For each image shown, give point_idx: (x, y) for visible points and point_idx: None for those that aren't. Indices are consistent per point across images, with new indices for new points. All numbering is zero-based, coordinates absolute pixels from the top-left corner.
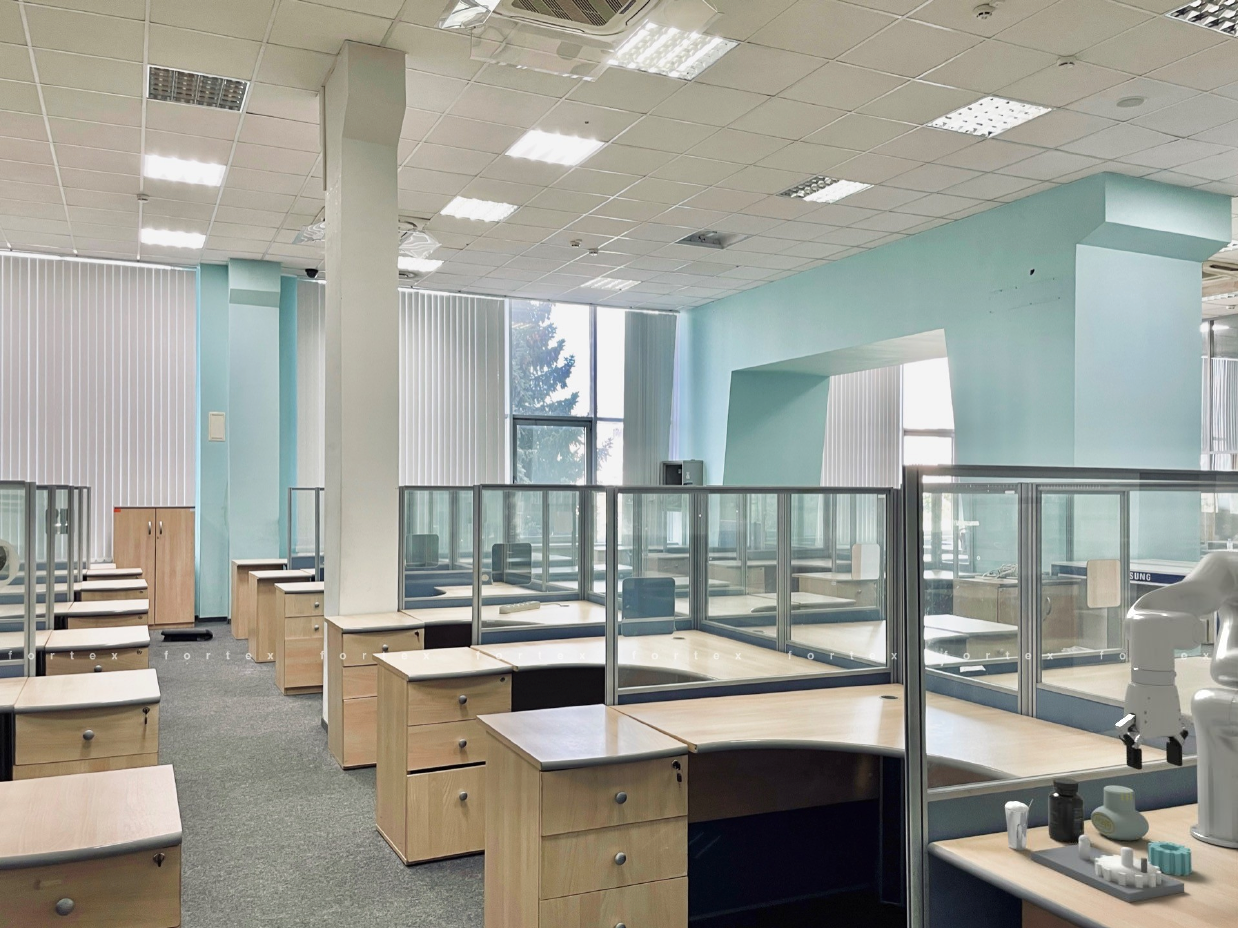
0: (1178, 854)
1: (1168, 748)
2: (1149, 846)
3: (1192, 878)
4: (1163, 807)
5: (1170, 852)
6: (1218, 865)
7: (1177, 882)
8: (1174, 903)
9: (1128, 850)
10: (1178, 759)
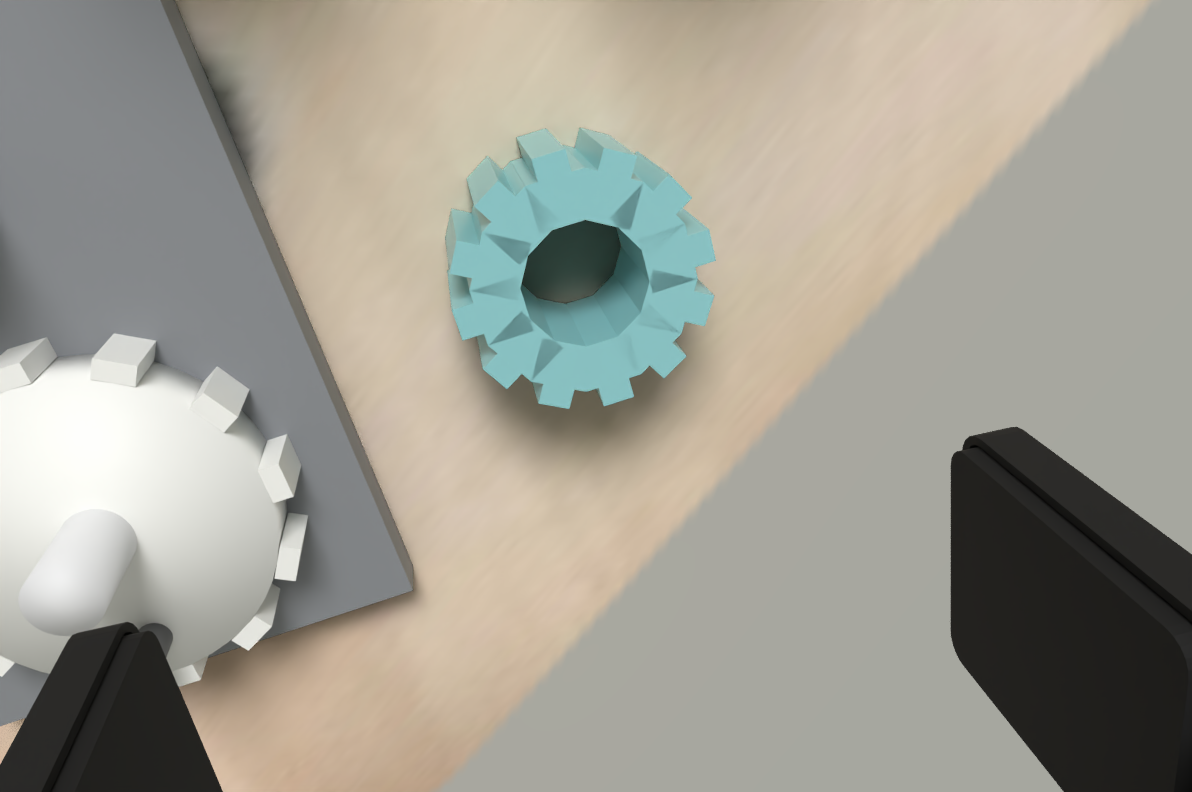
0: (557, 405)
1: (1102, 630)
2: (454, 251)
3: (589, 399)
4: None
5: (525, 374)
6: (900, 212)
7: (380, 582)
8: (260, 695)
9: (55, 632)
10: (1000, 709)
